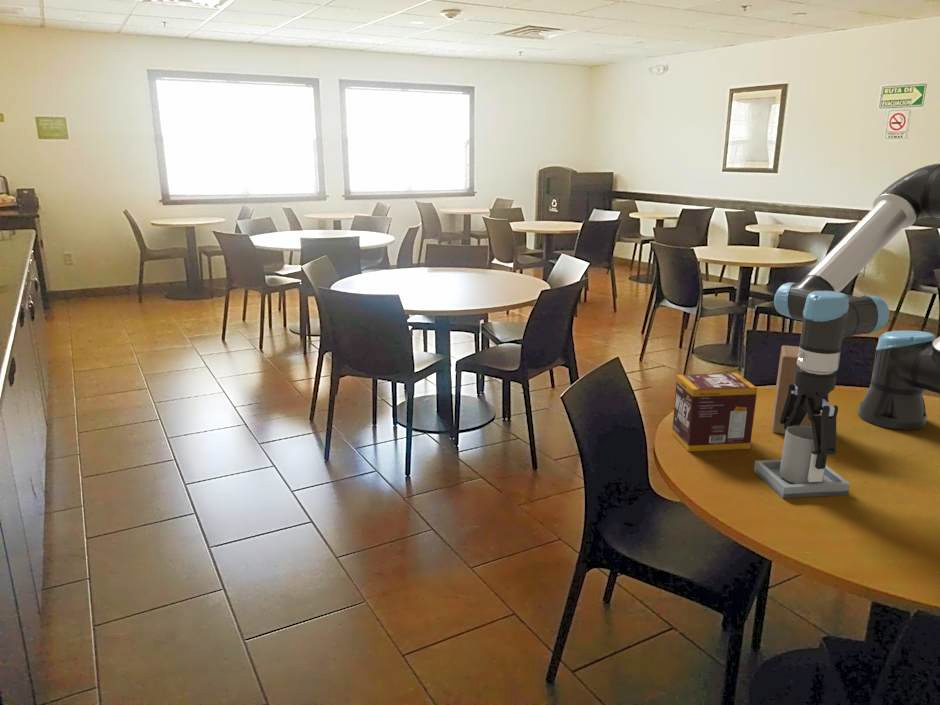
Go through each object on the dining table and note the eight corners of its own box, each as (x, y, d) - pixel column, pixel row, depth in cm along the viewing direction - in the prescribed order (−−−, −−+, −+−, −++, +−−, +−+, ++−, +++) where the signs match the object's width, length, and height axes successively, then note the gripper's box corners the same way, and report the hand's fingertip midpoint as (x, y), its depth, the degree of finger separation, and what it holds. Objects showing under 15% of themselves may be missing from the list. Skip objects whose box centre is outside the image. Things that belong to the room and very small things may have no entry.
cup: (827, 487, 141) (835, 442, 138) (784, 483, 142) (792, 438, 139) (815, 470, 149) (823, 427, 146) (775, 466, 150) (782, 423, 147)
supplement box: (670, 433, 170) (675, 374, 165) (731, 431, 171) (737, 371, 166) (686, 452, 160) (692, 389, 155) (750, 449, 161) (758, 386, 157)
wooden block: (772, 433, 170) (782, 355, 164) (771, 418, 179) (781, 344, 173) (817, 439, 166) (829, 360, 160) (814, 423, 175) (826, 348, 169)
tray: (814, 467, 152) (816, 457, 151) (848, 494, 140) (850, 483, 140) (753, 471, 151) (755, 460, 150) (782, 498, 139) (784, 487, 139)
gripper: (770, 353, 148) (758, 448, 155) (831, 388, 127) (814, 496, 134) (804, 351, 149) (790, 446, 155) (869, 386, 128) (850, 494, 135)
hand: (801, 469), depth 145 cm, fingers open, 9 cm apart
